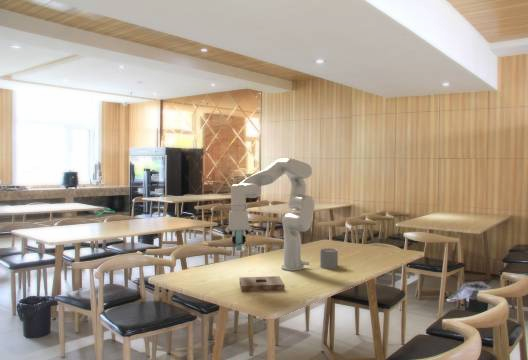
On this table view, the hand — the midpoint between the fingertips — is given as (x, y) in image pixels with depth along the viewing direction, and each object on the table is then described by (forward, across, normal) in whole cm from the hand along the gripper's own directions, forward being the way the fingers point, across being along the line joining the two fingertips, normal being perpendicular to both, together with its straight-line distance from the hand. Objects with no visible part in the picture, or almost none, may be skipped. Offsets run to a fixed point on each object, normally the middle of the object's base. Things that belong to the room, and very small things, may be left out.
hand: (238, 243), depth 229 cm
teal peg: (+3, 0, 0) cm, 3 cm away
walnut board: (+19, -10, +15) cm, 26 cm away
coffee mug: (+20, -55, -24) cm, 63 cm away
